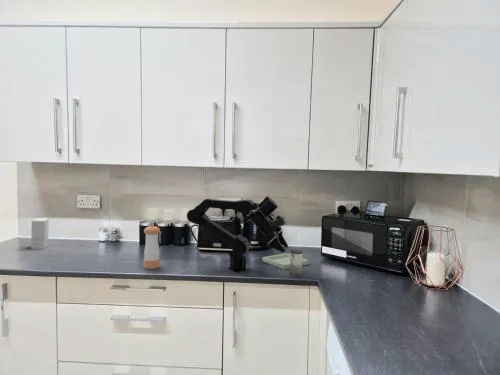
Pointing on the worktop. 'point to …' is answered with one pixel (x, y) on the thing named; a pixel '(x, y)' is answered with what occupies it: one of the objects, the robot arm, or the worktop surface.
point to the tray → (281, 261)
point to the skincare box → (39, 233)
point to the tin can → (296, 262)
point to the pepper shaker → (151, 248)
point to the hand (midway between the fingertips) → (285, 249)
